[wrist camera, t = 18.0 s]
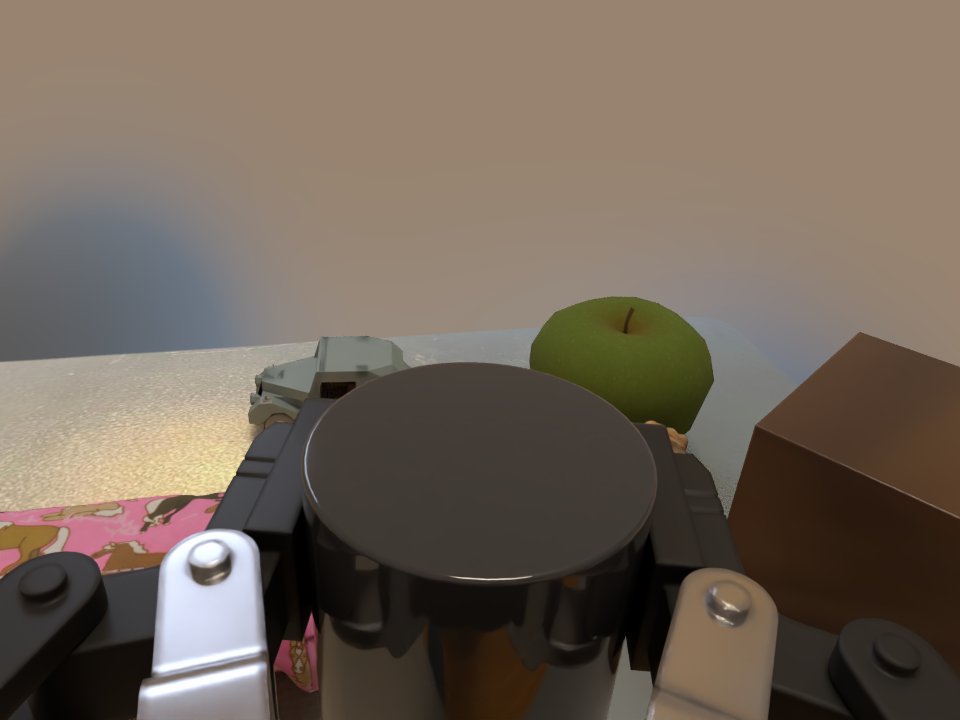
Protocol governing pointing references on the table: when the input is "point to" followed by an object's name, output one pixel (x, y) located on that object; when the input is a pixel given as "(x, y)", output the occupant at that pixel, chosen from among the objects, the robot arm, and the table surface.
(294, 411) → the toy car
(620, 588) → the glossy dark cylinder
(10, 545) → the pencil case
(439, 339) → the table surface
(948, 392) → the walnut plinth
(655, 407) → the apple
